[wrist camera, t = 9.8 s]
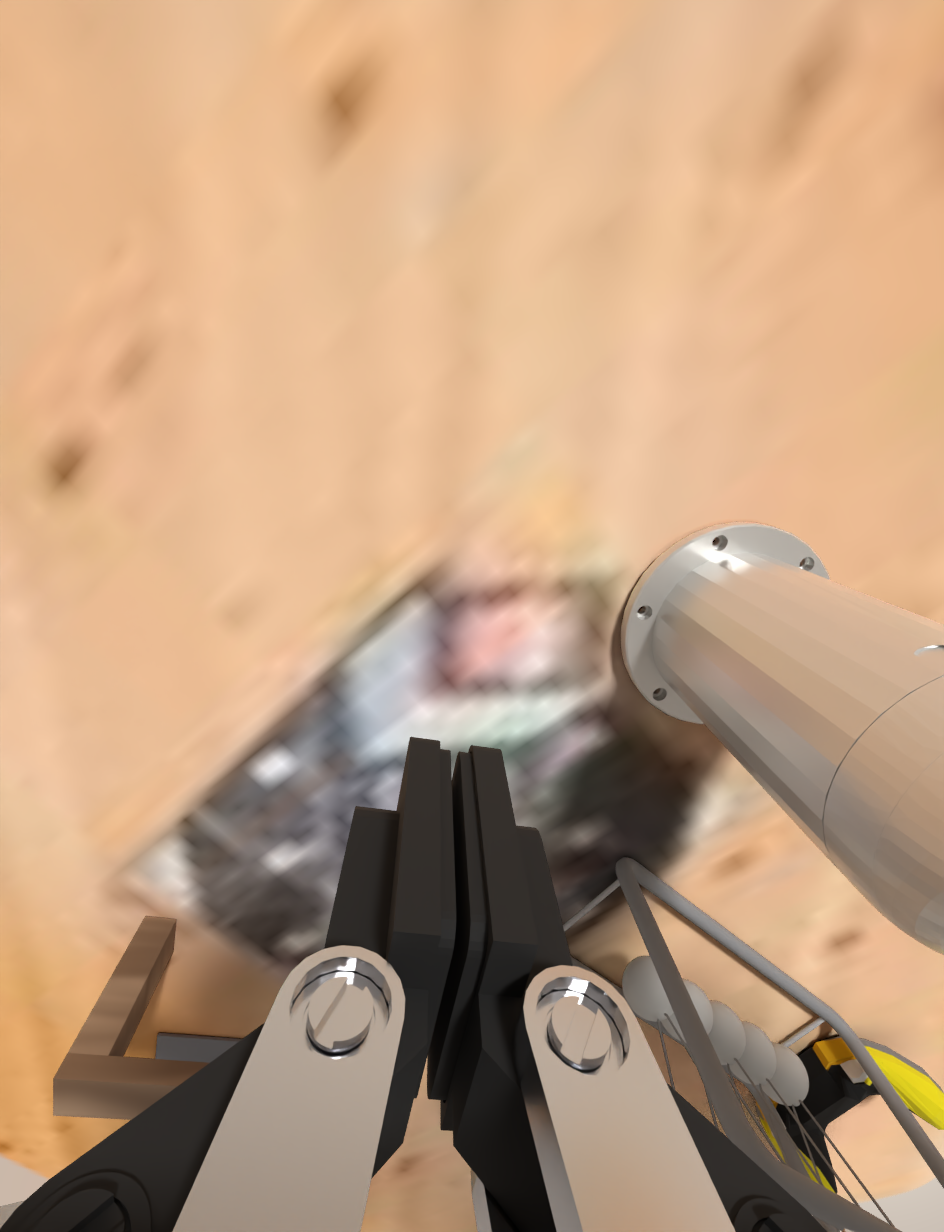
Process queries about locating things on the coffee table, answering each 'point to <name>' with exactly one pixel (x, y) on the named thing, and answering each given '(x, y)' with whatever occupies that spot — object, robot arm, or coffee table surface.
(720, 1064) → the newton's cradle
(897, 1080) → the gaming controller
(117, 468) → the coffee table surface
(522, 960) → the robot arm
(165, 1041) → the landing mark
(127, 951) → the bridge
